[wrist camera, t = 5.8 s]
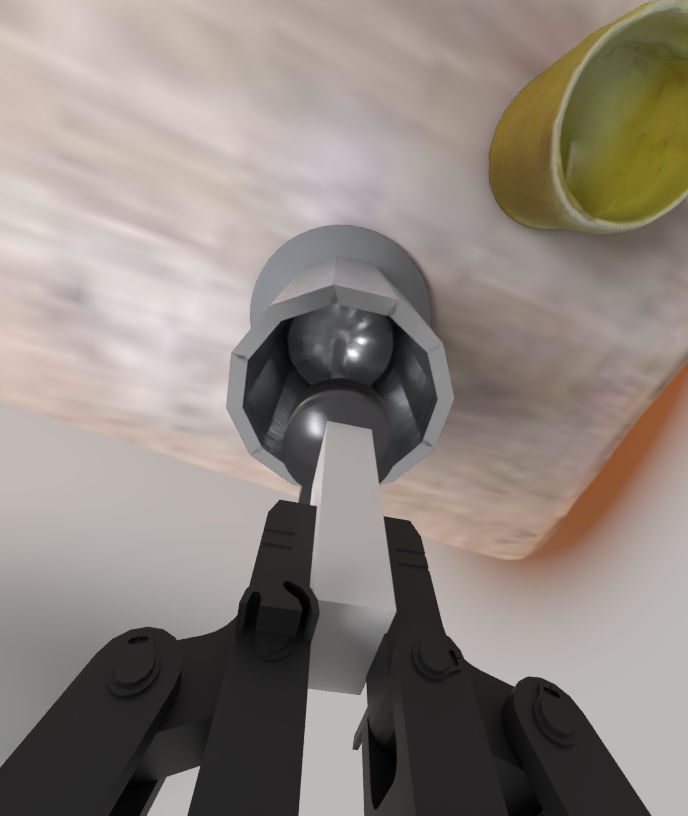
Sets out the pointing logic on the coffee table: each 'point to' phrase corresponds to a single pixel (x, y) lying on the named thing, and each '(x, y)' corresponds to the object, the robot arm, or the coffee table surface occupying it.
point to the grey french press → (281, 384)
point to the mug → (601, 130)
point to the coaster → (345, 245)
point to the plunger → (337, 385)
